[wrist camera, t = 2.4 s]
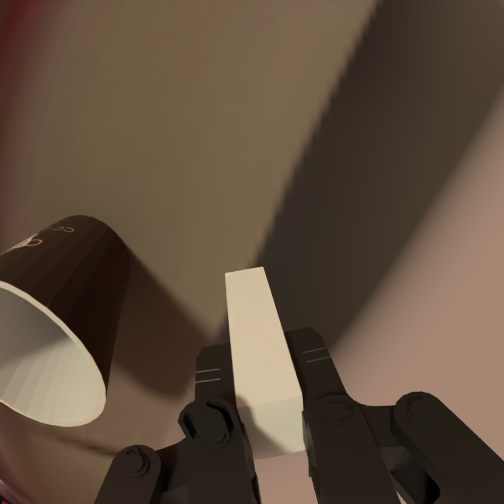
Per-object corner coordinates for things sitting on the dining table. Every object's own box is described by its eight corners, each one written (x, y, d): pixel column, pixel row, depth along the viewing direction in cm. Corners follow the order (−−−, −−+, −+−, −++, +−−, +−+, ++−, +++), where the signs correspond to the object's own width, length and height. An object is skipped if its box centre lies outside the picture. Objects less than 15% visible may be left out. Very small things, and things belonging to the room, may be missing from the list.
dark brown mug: (140, 195, 18) (74, 280, 9) (152, 317, 21) (126, 437, 12) (-8, 204, 17) (-102, 269, 8) (18, 308, 20) (-41, 397, 11)
